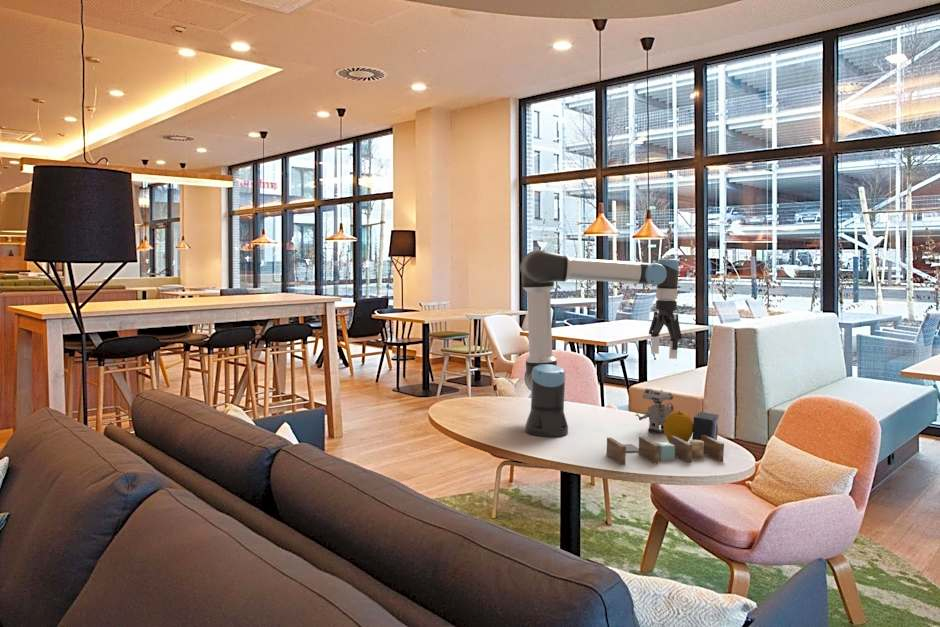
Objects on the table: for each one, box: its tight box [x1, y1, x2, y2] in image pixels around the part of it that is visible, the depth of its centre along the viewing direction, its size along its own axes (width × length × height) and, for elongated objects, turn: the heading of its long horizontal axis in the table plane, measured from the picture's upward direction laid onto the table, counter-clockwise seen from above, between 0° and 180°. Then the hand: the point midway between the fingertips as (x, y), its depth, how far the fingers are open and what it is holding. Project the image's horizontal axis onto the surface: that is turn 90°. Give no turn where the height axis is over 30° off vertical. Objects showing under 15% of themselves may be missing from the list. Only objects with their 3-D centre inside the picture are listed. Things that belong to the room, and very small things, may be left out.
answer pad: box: [621, 443, 639, 454], centre depth 225 cm, size 8×8×1 cm
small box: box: [691, 411, 719, 441], centre depth 231 cm, size 11×6×10 cm, turn 149°
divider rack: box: [606, 435, 725, 466], centre depth 215 cm, size 34×11×6 cm, turn 102°
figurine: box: [635, 388, 675, 435], centre depth 251 cm, size 9×12×15 cm
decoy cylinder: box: [688, 439, 704, 460], centre depth 217 cm, size 4×4×5 cm
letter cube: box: [654, 441, 676, 461], centre depth 215 cm, size 4×4×5 cm
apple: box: [662, 410, 693, 443], centre depth 231 cm, size 10×10×12 cm
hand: (663, 356), depth 259 cm, fingers open, 13 cm apart
